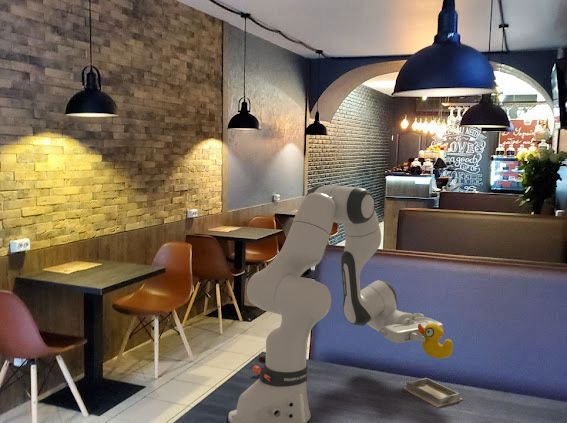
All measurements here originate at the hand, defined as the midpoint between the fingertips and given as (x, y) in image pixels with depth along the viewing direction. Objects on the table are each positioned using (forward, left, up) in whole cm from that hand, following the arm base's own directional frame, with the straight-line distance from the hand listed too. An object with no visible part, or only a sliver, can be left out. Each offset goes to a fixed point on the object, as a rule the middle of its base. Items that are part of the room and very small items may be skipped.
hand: (432, 338), depth 169 cm
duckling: (0, -1, -6) cm, 6 cm away
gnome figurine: (-34, +33, -17) cm, 50 cm away
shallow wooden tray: (0, -1, -17) cm, 17 cm away
